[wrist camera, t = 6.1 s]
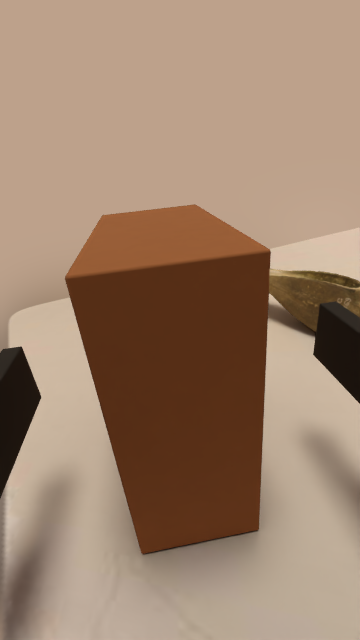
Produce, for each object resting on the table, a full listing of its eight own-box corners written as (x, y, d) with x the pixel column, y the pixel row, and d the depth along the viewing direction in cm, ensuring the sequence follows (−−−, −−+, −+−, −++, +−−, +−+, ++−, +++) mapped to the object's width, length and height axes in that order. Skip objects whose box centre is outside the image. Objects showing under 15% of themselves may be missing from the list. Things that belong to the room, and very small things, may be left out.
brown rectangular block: (141, 555, 13) (63, 276, 7) (137, 394, 21) (101, 215, 16) (259, 530, 13) (271, 249, 7) (207, 382, 22) (196, 204, 16)
